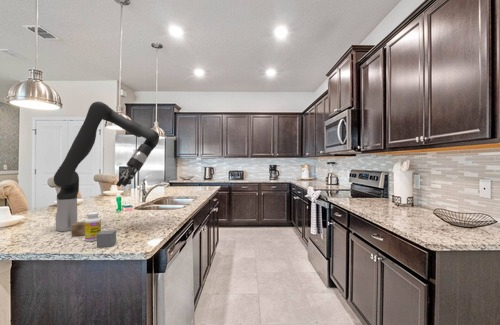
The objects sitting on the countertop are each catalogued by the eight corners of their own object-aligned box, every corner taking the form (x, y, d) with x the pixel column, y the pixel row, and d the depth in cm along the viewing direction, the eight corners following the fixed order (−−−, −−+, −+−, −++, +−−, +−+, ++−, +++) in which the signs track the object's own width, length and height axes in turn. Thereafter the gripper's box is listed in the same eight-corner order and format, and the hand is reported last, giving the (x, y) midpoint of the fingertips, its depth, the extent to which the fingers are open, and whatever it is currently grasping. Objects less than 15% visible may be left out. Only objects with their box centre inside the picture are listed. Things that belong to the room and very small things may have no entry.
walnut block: (71, 237, 126) (71, 225, 126) (77, 233, 132) (77, 222, 132) (84, 236, 128) (84, 224, 127) (90, 233, 133) (89, 221, 133)
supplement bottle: (89, 242, 117) (88, 215, 117) (82, 240, 121) (81, 213, 121) (103, 238, 123) (103, 212, 123) (96, 236, 126) (96, 211, 126)
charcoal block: (96, 248, 110) (96, 234, 110) (102, 243, 116) (102, 230, 116) (111, 247, 111) (111, 233, 111) (116, 242, 117) (116, 229, 117)
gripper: (126, 158, 144) (109, 182, 137) (136, 155, 134) (118, 181, 127) (138, 165, 148) (122, 189, 141) (148, 163, 138) (131, 189, 131)
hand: (120, 185), depth 134 cm, fingers open, 8 cm apart
